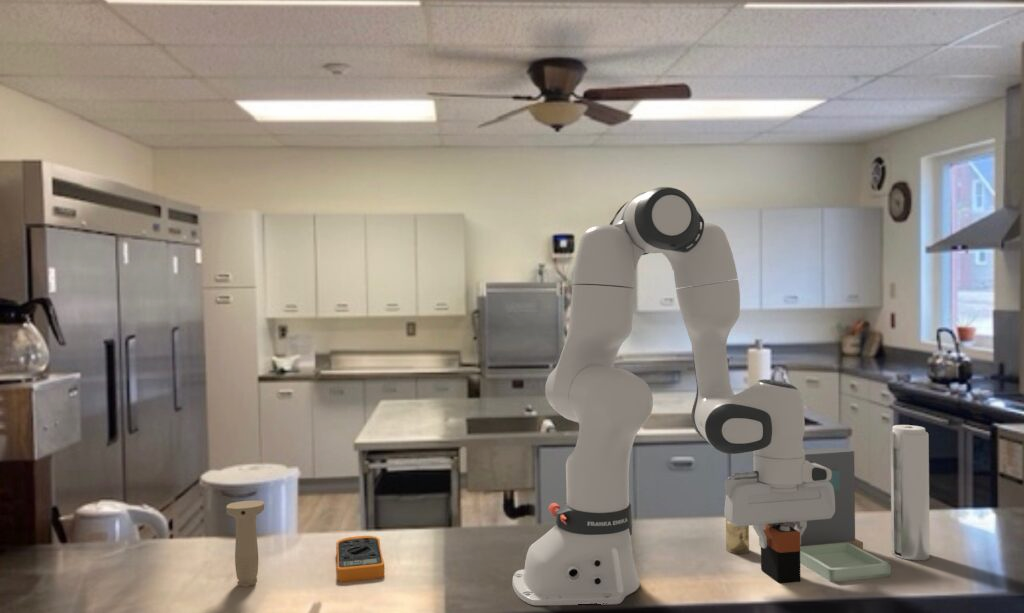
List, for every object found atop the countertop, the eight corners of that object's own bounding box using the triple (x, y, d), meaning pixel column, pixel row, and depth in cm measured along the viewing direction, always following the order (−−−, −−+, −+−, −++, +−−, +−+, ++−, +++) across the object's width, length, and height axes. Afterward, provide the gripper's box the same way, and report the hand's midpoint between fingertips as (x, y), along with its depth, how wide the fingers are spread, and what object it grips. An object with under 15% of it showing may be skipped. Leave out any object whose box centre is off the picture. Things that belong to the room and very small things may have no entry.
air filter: (934, 561, 138) (933, 430, 138) (897, 559, 140) (896, 429, 139) (922, 549, 145) (921, 423, 144) (887, 548, 146) (886, 423, 146)
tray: (830, 582, 130) (830, 570, 130) (792, 558, 141) (792, 547, 141) (890, 576, 132) (890, 564, 132) (848, 553, 144) (848, 542, 144)
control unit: (780, 557, 142) (778, 457, 142) (763, 547, 148) (762, 451, 147) (863, 549, 145) (861, 452, 145) (843, 540, 151) (842, 445, 151)
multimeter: (378, 549, 152) (378, 533, 152) (385, 582, 134) (384, 563, 134) (336, 553, 150) (336, 537, 150) (337, 587, 132) (336, 568, 132)
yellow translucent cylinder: (732, 555, 144) (732, 525, 144) (722, 548, 148) (721, 518, 148) (753, 553, 144) (752, 523, 144) (742, 546, 149) (741, 516, 149)
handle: (263, 590, 131) (261, 507, 131) (226, 593, 130) (223, 509, 130) (267, 580, 136) (265, 499, 135) (231, 583, 135) (229, 502, 134)
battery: (781, 568, 136) (781, 515, 136) (801, 582, 130) (801, 526, 129) (760, 570, 136) (759, 516, 136) (778, 584, 129) (778, 528, 129)
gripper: (734, 477, 127) (735, 556, 128) (840, 470, 131) (840, 546, 131) (717, 469, 133) (718, 544, 134) (819, 462, 137) (819, 535, 138)
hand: (780, 545), depth 133 cm, fingers closed on battery, 4 cm apart
